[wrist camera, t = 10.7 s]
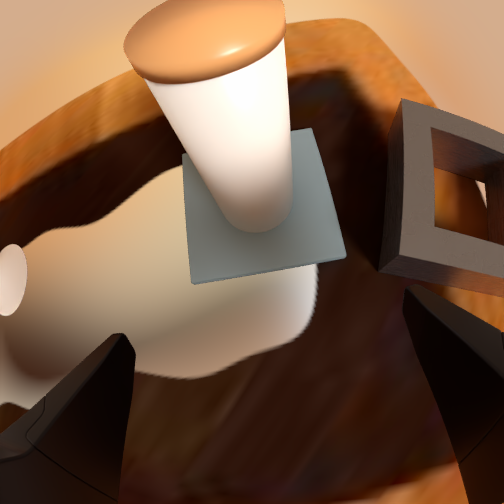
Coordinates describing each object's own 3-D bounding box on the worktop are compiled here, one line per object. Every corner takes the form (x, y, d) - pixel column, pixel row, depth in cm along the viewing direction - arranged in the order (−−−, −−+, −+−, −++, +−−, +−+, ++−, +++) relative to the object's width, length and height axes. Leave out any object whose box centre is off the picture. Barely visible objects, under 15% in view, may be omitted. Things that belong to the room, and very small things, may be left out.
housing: (504, 297, 15) (540, 287, 11) (377, 271, 17) (399, 254, 13) (498, 169, 17) (523, 143, 13) (387, 134, 19) (401, 98, 15)
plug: (284, 242, 17) (259, 66, 5) (209, 225, 18) (95, 72, 6) (301, 173, 18) (297, -15, 6) (231, 160, 19) (166, -9, 7)
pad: (344, 258, 17) (346, 255, 17) (194, 284, 18) (191, 282, 18) (311, 133, 20) (311, 128, 19) (184, 158, 21) (182, 154, 20)
